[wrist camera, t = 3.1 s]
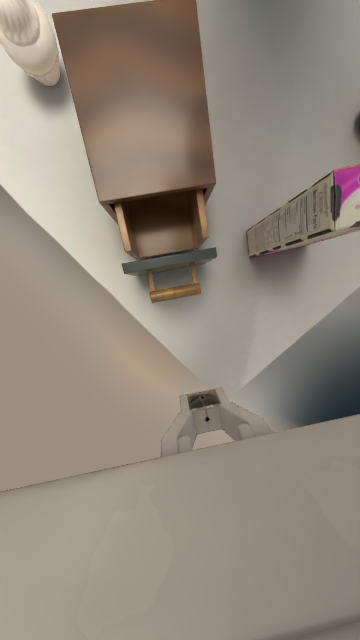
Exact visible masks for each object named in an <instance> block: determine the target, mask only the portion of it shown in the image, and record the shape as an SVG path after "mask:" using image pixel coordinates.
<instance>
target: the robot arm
mask: <svg viewBox="0 0 360 640" xmlns="http://www.w3.org/2000/svg"><path fill="white" fill-rule="evenodd" d="M180 405H181V413H179V414H178V416H177V417H176V419H175V420H174V422H173V423H172V425H171V426H170V428H169V429H168V431H167V432H166V434H165V436H164V437H163V439H162V440H161V457H160V458H155V459H150V460H146V461H141V462H136V463H132V464H127V465H122V466H118V467H113V468H109V469H104V470H99V471H94V472H90V473H85V474H81V475H76V476H71V477H67V478H62V479H57V480H53V481H48V482H44V483H39V484H34V485H29V486H25V487H20V488H16V489H10V490H6V491H1V492H0V640H360V414H359V415H355V416H350V417H345V418H340V419H336V420H331V421H326V422H322V423H317V424H312V425H308V426H303V427H299V428H294V429H289V430H285V431H280V432H275V433H273V432H272V430H271V429H270V428H269V426H268V425H267V423H266V422H265V421H264V419H263V418H260V417H259V416H257V415H255V414H253V413H251V412H249V411H248V410H246V409H244V408H242V407H240V406H238V405H236V404H235V403H233V402H229V400H228V398H227V396H226V395H225V393H224V391H223V389H222V388H221V387H219V388H215V389H212V390H207V391H203V392H197V393H191V394H187V395H181V396H180ZM220 429H223V430H224V431H225V432H226V433H227V434H228V435H229V436H230V437H232V438H233V439H234V440H235V441H234V442H229V443H225V444H220V445H216V446H211V447H206V448H201V449H197V450H192V448H193V445H194V442H195V439H196V436H197V434H201V433H205V432H209V431H215V430H220Z"/></svg>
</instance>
